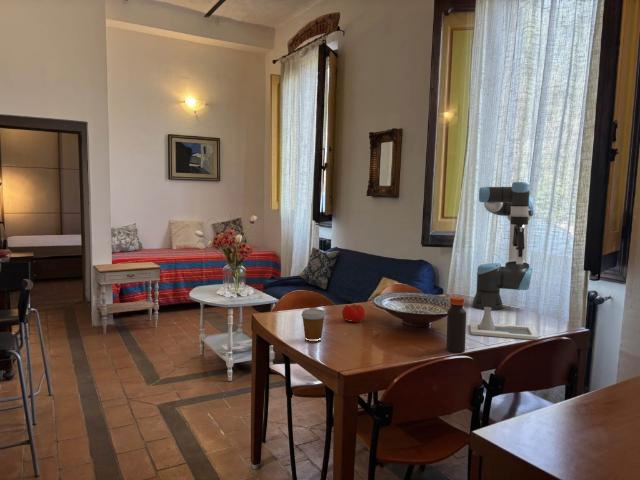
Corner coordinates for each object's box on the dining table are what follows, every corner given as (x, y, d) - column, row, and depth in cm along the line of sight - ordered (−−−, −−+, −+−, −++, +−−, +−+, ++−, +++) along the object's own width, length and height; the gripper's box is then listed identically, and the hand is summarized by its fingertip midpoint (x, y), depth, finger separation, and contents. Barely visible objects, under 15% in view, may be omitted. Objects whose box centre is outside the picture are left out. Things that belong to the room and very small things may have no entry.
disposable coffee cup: (327, 344, 181) (327, 313, 180) (302, 345, 179) (303, 314, 178) (322, 336, 190) (323, 308, 189) (300, 337, 189) (300, 309, 188)
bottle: (467, 353, 171) (469, 300, 169) (449, 353, 170) (451, 300, 169) (460, 347, 178) (462, 296, 176) (443, 347, 177) (445, 296, 175)
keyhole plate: (469, 325, 210) (470, 321, 210) (532, 330, 202) (532, 326, 202) (471, 334, 194) (471, 331, 194) (538, 340, 187) (538, 336, 187)
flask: (497, 333, 196) (498, 310, 195) (479, 332, 197) (480, 309, 197) (494, 328, 203) (495, 306, 202) (477, 327, 204) (477, 305, 204)
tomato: (346, 324, 209) (346, 308, 209) (339, 318, 220) (339, 303, 219) (368, 323, 212) (368, 307, 211) (360, 317, 222) (361, 302, 222)
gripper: (533, 217, 197) (530, 266, 199) (524, 214, 221) (522, 258, 223) (514, 216, 199) (512, 265, 201) (507, 214, 223) (505, 258, 225)
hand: (517, 262), depth 212 cm, fingers open, 13 cm apart
